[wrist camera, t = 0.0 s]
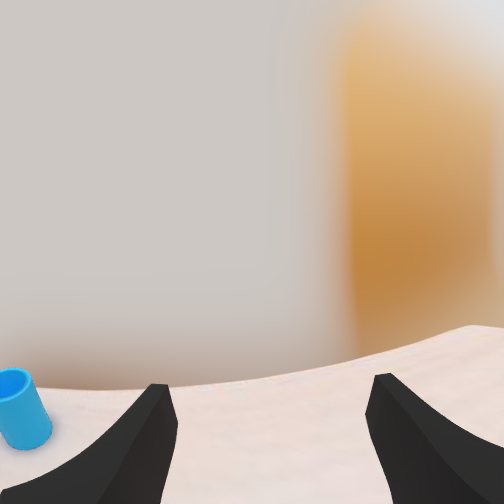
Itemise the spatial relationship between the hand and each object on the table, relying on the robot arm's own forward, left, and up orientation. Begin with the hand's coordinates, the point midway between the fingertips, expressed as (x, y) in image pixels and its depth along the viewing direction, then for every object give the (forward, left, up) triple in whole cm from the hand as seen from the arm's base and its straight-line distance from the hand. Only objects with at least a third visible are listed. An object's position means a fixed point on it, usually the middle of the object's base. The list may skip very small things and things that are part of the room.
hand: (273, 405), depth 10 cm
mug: (+14, +34, -22) cm, 43 cm away
